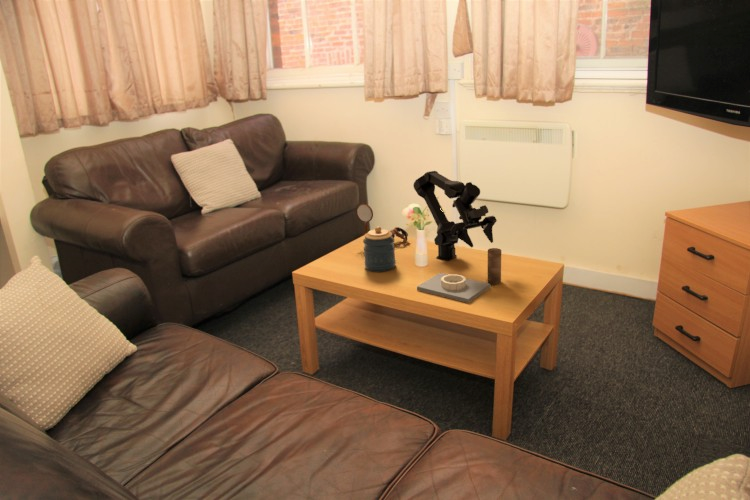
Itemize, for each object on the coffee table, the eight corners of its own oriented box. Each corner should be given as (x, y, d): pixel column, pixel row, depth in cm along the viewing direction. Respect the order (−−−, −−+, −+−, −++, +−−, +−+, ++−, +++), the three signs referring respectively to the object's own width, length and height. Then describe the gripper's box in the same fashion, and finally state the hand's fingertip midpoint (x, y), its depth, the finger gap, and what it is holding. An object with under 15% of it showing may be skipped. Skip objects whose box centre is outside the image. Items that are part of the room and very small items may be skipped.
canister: (386, 274, 238) (384, 232, 232) (359, 270, 244) (356, 229, 238) (401, 263, 248) (399, 223, 243) (374, 259, 255) (372, 220, 249)
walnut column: (485, 283, 224) (485, 251, 219) (491, 279, 227) (491, 247, 223) (497, 286, 221) (497, 253, 216) (503, 281, 224) (503, 249, 220)
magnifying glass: (358, 244, 274) (355, 203, 268) (360, 243, 276) (357, 202, 269) (373, 247, 270) (371, 205, 263) (375, 246, 271) (373, 204, 264)
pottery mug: (391, 239, 281) (400, 225, 278) (405, 251, 276) (413, 236, 273) (376, 240, 271) (385, 225, 268) (390, 252, 267) (399, 237, 264)
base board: (417, 290, 221) (416, 280, 220) (440, 276, 233) (440, 266, 232) (468, 303, 208) (468, 292, 207) (490, 287, 220) (490, 277, 218)
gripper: (453, 203, 221) (471, 239, 215) (494, 195, 229) (511, 229, 223) (442, 218, 230) (459, 253, 225) (481, 210, 238) (498, 243, 232)
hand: (482, 244), depth 226 cm, fingers open, 9 cm apart
